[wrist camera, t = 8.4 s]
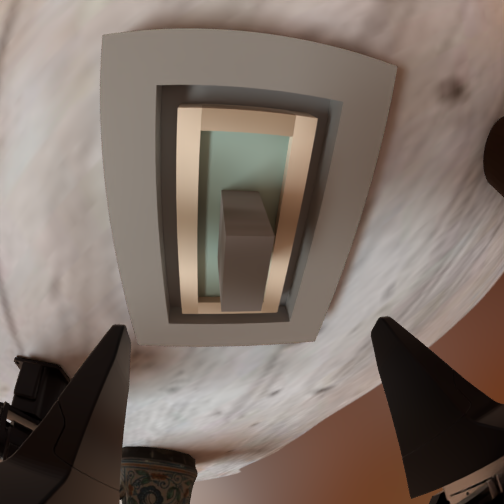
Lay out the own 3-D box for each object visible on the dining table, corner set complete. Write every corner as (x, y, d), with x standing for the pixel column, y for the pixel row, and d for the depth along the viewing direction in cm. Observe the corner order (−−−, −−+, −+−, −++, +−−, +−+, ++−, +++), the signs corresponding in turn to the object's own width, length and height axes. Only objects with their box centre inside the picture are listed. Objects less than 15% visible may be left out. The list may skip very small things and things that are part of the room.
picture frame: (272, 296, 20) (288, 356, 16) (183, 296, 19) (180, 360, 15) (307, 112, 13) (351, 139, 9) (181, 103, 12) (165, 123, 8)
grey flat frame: (308, 321, 23) (314, 341, 21) (141, 323, 21) (138, 345, 19) (376, 63, 12) (397, 66, 10) (116, 38, 10) (102, 35, 8)
